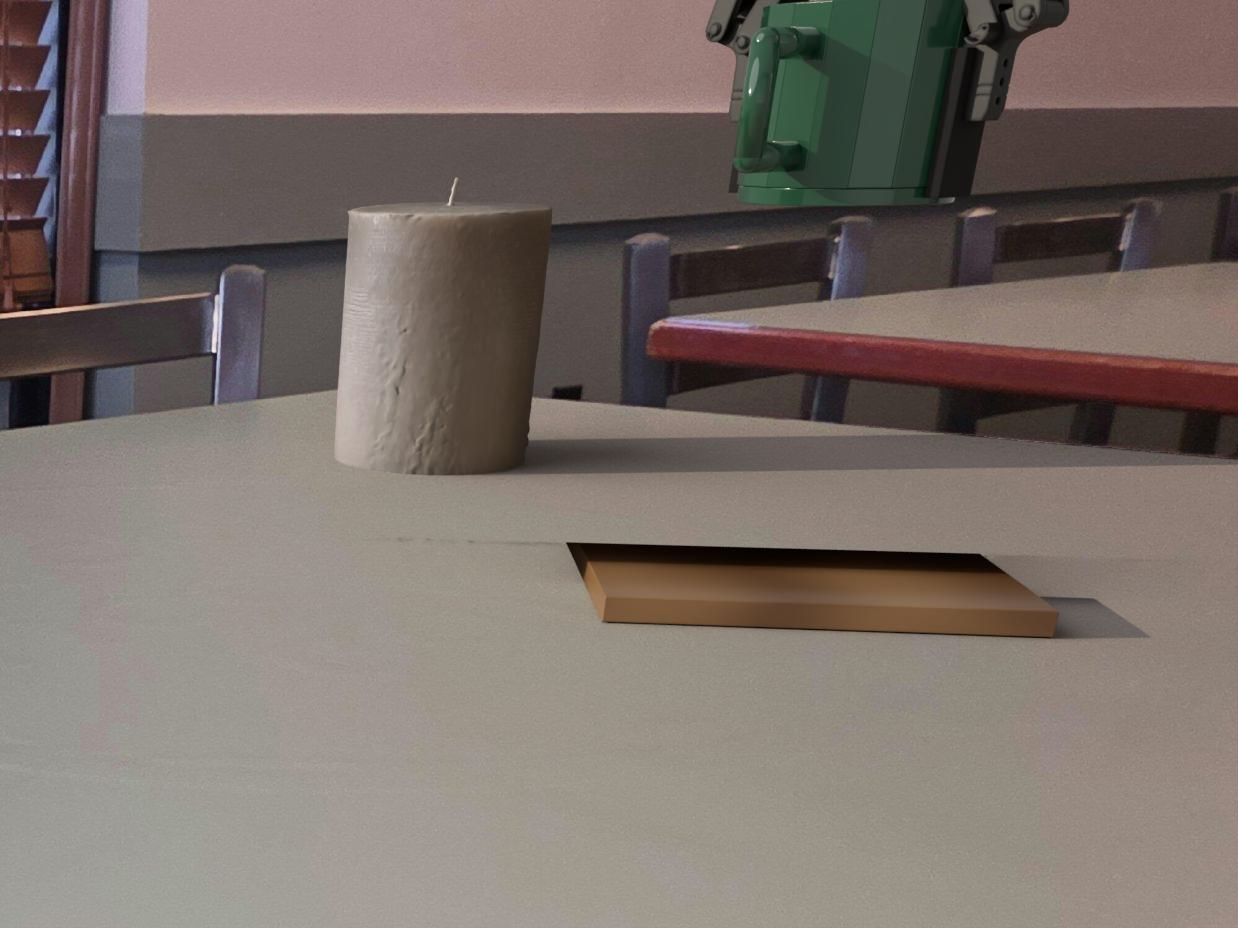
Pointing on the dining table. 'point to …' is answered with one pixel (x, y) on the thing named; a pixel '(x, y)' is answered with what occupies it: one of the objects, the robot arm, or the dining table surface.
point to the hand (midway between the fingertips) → (843, 194)
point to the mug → (845, 101)
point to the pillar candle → (440, 335)
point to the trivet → (809, 589)
